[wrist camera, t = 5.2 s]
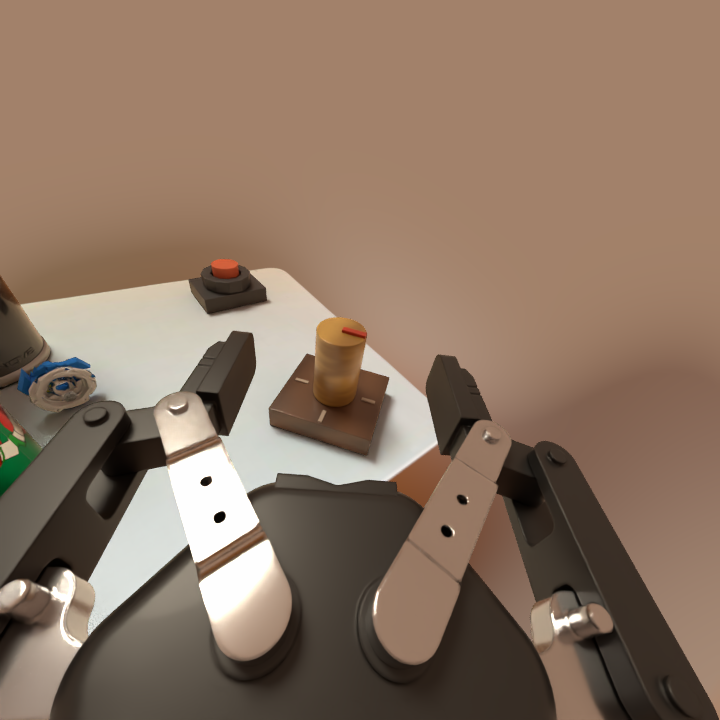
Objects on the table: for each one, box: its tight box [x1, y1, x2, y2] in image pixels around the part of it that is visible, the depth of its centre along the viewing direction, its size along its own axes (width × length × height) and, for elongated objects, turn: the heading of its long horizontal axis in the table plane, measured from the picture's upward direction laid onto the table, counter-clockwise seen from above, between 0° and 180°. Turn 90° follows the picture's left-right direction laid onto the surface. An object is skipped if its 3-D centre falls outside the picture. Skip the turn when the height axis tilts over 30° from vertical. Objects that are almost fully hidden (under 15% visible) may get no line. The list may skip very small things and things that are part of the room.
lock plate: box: [269, 354, 389, 456], centre depth 31 cm, size 10×9×3 cm
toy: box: [17, 357, 97, 412], centre depth 26 cm, size 5×4×5 cm
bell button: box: [211, 259, 239, 279], centre depth 43 cm, size 4×4×2 cm
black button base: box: [189, 265, 267, 313], centre depth 45 cm, size 9×7×4 cm
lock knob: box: [313, 317, 367, 407], centre depth 28 cm, size 4×4×8 cm
